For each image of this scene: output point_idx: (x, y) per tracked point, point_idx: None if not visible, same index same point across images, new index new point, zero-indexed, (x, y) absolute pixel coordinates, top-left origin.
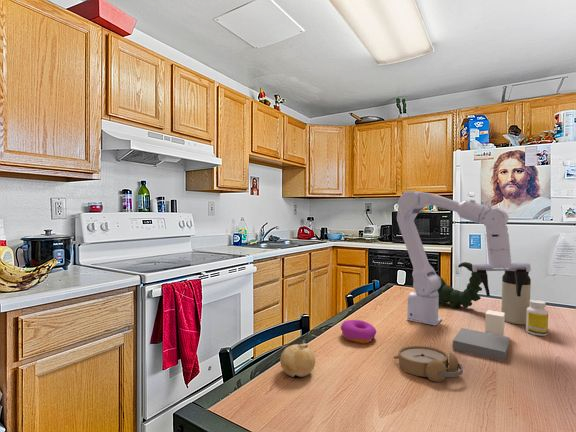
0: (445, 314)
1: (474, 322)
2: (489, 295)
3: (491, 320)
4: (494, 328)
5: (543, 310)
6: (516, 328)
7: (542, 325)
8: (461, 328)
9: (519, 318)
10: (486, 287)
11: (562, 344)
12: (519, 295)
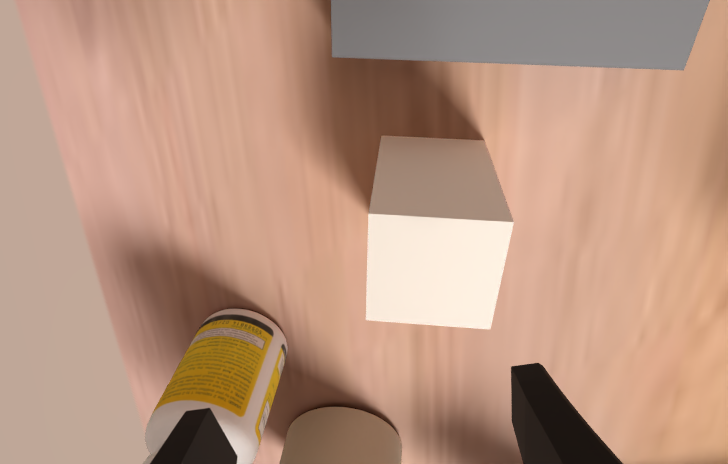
0: (686, 398)
1: (531, 349)
2: (516, 371)
3: (458, 193)
4: (432, 166)
5: (157, 436)
6: (330, 357)
7: (194, 351)
8: (687, 49)
9: (317, 432)
10: (596, 461)
11: (123, 248)
12: (187, 419)
